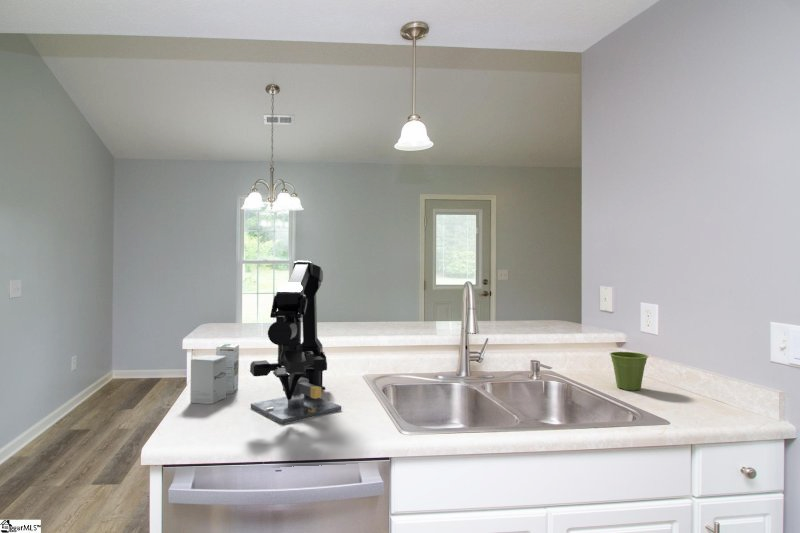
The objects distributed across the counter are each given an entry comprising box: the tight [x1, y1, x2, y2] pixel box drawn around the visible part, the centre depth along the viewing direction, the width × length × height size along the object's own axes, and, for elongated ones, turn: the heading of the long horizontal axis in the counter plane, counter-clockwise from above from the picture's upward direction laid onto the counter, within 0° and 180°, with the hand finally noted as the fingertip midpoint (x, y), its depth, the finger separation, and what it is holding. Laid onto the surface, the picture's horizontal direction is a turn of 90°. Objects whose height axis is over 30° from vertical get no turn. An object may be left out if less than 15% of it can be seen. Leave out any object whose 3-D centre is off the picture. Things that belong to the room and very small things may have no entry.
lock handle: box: [282, 377, 323, 399], centre depth 133 cm, size 15×7×3 cm, turn 42°
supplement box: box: [189, 354, 227, 405], centre depth 144 cm, size 7×7×13 cm
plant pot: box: [609, 351, 649, 392], centre depth 163 cm, size 12×12×11 cm
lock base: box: [250, 392, 342, 425], centre depth 136 cm, size 18×18×5 cm
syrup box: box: [215, 343, 240, 395], centre depth 153 cm, size 6×6×14 cm
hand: (288, 399), depth 126 cm, fingers closed
